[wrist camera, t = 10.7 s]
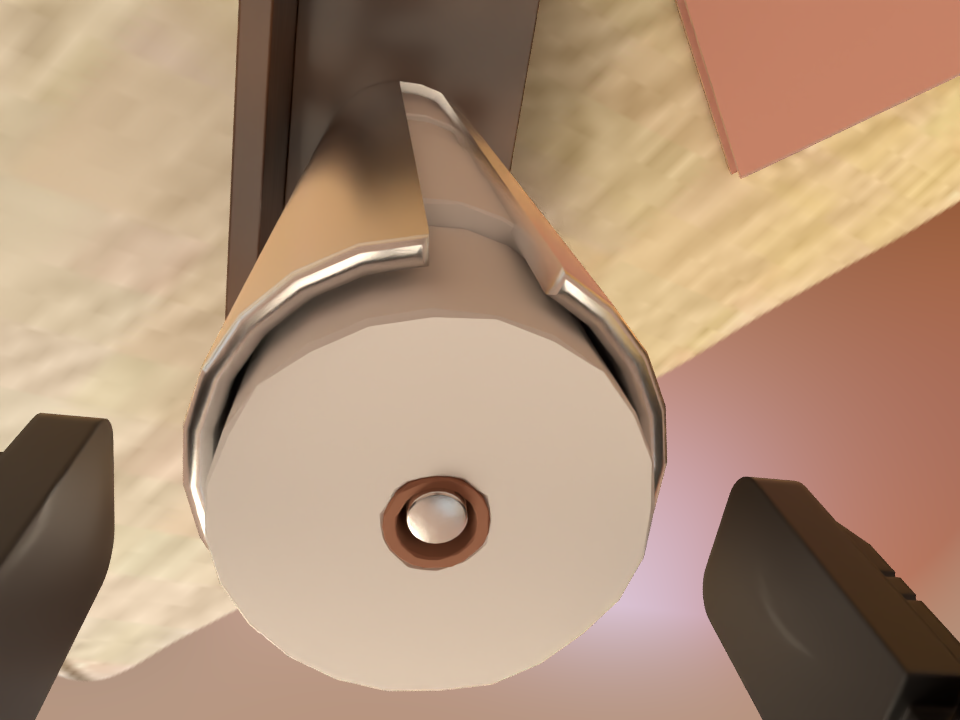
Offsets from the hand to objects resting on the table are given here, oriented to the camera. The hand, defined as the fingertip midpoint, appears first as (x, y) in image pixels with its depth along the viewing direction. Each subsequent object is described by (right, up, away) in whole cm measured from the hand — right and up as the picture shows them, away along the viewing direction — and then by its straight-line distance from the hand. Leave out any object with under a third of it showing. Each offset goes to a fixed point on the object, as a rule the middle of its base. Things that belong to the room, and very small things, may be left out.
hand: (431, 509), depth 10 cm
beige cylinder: (-3, +10, +22) cm, 25 cm away
